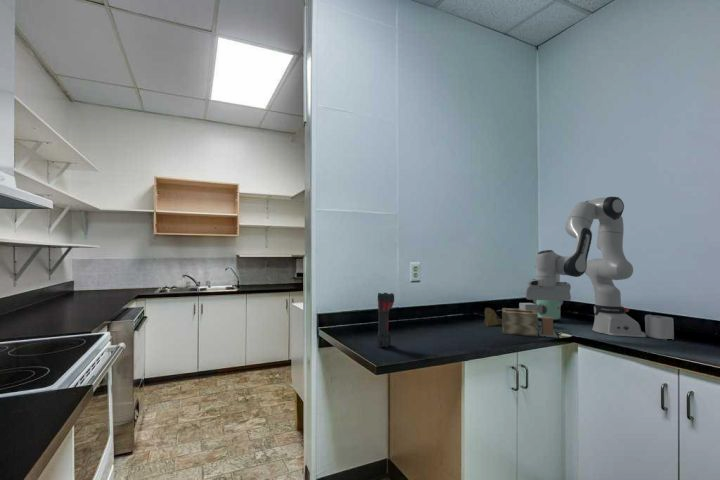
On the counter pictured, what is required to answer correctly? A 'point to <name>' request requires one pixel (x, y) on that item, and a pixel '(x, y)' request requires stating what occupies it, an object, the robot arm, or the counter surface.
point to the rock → (491, 317)
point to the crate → (519, 322)
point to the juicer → (549, 307)
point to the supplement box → (528, 307)
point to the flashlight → (384, 319)
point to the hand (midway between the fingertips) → (548, 308)
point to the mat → (547, 334)
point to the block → (547, 325)
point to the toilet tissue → (659, 327)
